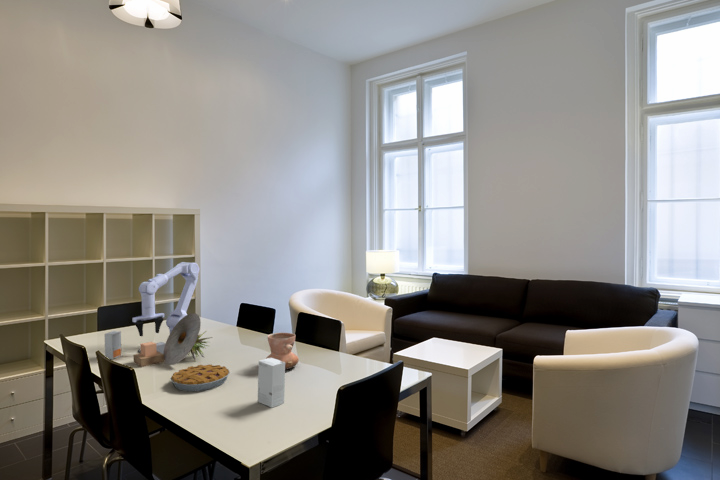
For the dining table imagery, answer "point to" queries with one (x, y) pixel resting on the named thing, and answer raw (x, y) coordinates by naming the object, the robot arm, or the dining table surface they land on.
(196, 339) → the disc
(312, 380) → the dining table surface
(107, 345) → the skincare box
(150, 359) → the walnut block
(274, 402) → the skincare box
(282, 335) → the ceramic jug
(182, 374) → the pie
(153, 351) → the terracotta cube
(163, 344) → the slate grey cube
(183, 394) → the dining table surface
